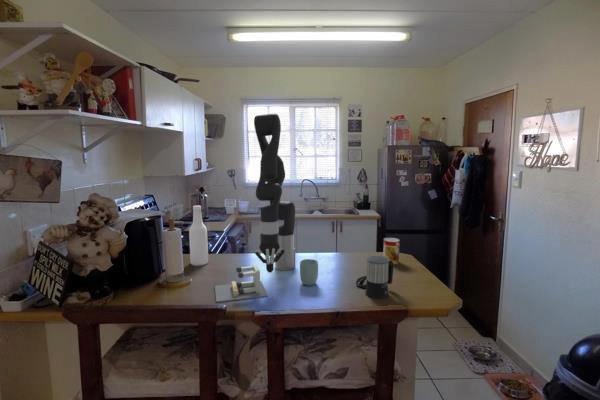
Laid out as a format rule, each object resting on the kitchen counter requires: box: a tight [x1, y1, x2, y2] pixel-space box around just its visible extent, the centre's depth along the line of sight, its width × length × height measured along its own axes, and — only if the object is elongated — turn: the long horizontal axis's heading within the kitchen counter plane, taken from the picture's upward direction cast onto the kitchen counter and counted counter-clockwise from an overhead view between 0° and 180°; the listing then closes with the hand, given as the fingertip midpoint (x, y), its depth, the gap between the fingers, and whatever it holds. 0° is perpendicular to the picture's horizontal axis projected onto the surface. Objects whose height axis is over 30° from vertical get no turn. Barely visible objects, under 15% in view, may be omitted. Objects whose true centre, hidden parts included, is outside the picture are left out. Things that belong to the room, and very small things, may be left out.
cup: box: [299, 258, 319, 287], centre depth 151 cm, size 8×8×10 cm
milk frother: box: [355, 255, 395, 299], centre depth 144 cm, size 14×16×15 cm
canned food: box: [382, 237, 400, 265], centre depth 181 cm, size 8×8×12 cm
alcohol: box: [188, 204, 209, 267], centre depth 177 cm, size 9×9×30 cm
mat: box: [214, 280, 269, 303], centre depth 143 cm, size 20×16×3 cm
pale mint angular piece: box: [235, 264, 261, 294], centre depth 144 cm, size 9×9×9 cm
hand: (269, 271), depth 146 cm, fingers closed
